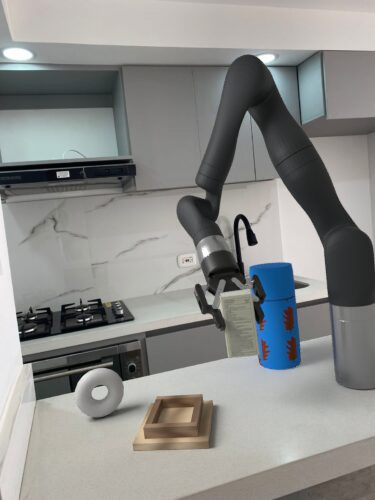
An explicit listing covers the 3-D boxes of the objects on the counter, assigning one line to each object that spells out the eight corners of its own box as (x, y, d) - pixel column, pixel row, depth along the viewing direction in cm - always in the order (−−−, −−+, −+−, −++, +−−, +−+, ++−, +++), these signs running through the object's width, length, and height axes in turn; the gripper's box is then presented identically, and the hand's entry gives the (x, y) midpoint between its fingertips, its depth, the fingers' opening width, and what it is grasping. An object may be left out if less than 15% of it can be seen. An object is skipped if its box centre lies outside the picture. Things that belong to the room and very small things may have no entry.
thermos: (298, 352, 96) (290, 261, 95) (304, 369, 86) (294, 266, 84) (257, 354, 98) (248, 264, 97) (258, 370, 88) (248, 270, 86)
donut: (125, 405, 78) (119, 361, 77) (128, 413, 74) (122, 366, 74) (77, 418, 75) (71, 371, 74) (78, 426, 71) (71, 377, 71)
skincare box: (258, 348, 72) (251, 288, 71) (260, 356, 67) (253, 292, 67) (226, 350, 72) (219, 291, 72) (227, 359, 68) (219, 296, 67)
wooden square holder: (213, 405, 73) (211, 390, 73) (208, 448, 60) (206, 429, 59) (151, 408, 75) (149, 393, 75) (133, 450, 61) (131, 432, 61)
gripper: (186, 253, 74) (208, 321, 64) (250, 244, 77) (282, 308, 67) (184, 276, 80) (204, 342, 69) (244, 266, 83) (272, 328, 72)
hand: (242, 325), depth 68 cm, fingers closed on skincare box, 7 cm apart
